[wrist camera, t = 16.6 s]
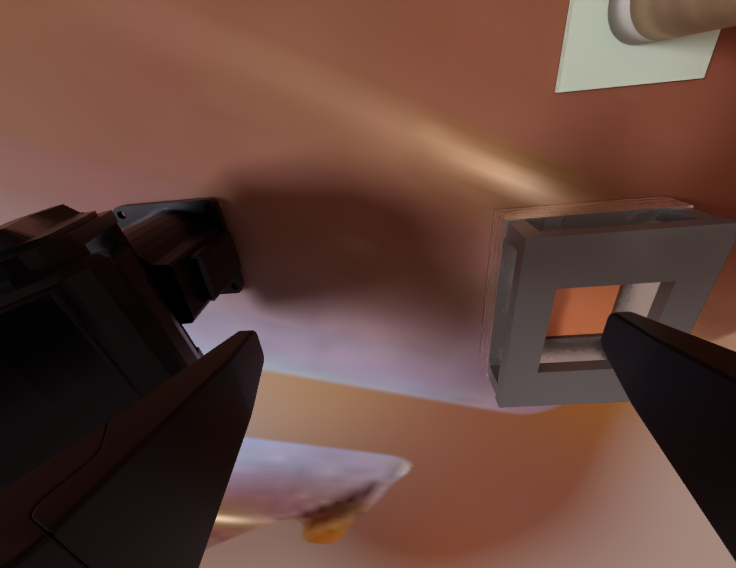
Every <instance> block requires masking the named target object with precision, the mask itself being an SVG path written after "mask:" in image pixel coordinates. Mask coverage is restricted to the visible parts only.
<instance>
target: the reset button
mask: <svg viewBox="0 0 736 568" xmlns="http://www.w3.org/2000/svg"><path fill="white" fill-rule="evenodd" d="M620 286H621V285H610V286H595V287H580V288H565V289H556V293H555V297H554V302H553V306H552V311H551V315H550V320H549V324H548V329H547V333H546V336H561V335H578V334H595V333H603V330H604V327H605V324H606V321H607V318H608V316H609V315H610V314H611V312H612V309H613V306H614V303H615V300H616V297H617V294H618V291H619V289H620Z"/></svg>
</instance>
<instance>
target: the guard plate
mask: <svg viewBox="0 0 736 568" xmlns="http://www.w3.org/2000/svg"><path fill="white" fill-rule="evenodd" d="M505 239H506V240H507V241H508V242H509V243H510V244H511V245H512V246H513V247H514V248H515V249H516V250H517V254H516V261H515V267H514V274H513V281H512V288H511V295H510V302H509V308H508V315H507V322H506V329H505V336H504V343H503V350H502V356H501V363H500V365H489V373H488V376H489V379H490V381H491V383H492V386H493V388H494V391H495V393H496V397H495V398H496V401H497V403H498V406H499V408H500V407H521V406H543V405H564V404H585V403H607V402H628V401H630V400H629V398H628V397H627V395H626V393H625V391H624V389H623V387H622V385H621V384H620V382H619V380H618V378H617V376H616V374H615V372H614V370H613V368H612V366H611V364H610V363H609V361H608V360H590V361H572V362H553V363H540V360H541V355H542V351H543V346H544V342H545V338H546V333H547V329H548V324H549V320H550V315H551V311H552V306H553V302H554V297H555V293H556V289H565V288H580V287H595V286H610V285H625V284H640V283H656V282H661V283H660V285H659V288H658V290H657V293H656V295H655V298H654V300H653V303H652V305H651V308H650V310H649V313H648V315H647V318H649V319H652V320H654V321H657V322H659V323H662V324H665V325H667V326H670V327H672V328H675V329H678V330H680V331H683V332H685V333H688V334H690V332H691V330H692V328H693V326H694V324H695V322H696V320H697V318H698V316H699V314H700V312H701V310H702V308H703V306H704V304H705V301H706V299H707V297H708V295H709V293H710V291H711V289H712V287H713V285H714V283H715V281H716V279H717V277H718V275H719V273H720V271H721V269H722V267H723V265H724V263H725V261H726V259H727V257H728V255H729V253H730V251H731V249H732V247H733V245H734V243H735V241H736V219H733V218H730V217H718V216H715V215H712V214H709V213H706V212H703V211H700V210H697V209H694V208H692V207H689V208H676V209H672V210H671V212H670V215H669V218H668V220H667V222H655V223H642V224H629V225H616V226H603V227H590V228H577V229H564V230H551V231H538V230H537V229H536V228H535V227H533V226H532V225H531V224H529V223H528V222H527V221H526V220H524V221H511V222H507V228H506V236H505Z"/></svg>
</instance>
